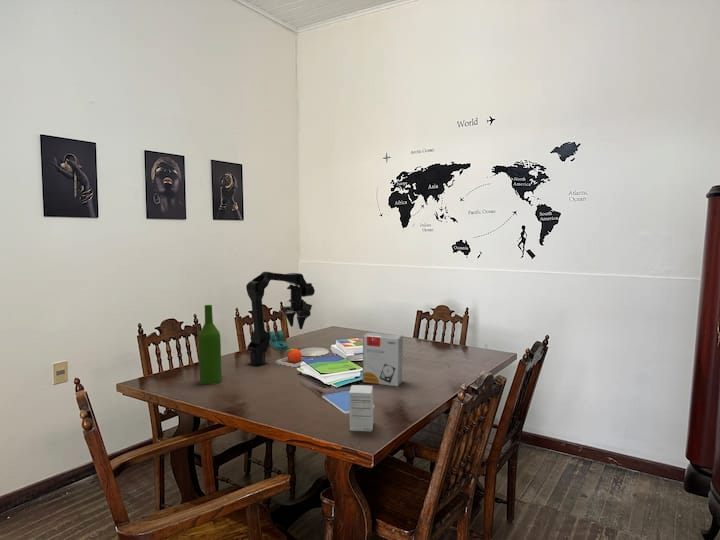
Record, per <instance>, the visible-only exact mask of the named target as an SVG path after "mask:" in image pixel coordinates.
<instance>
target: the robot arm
mask: <svg viewBox="0 0 720 540" xmlns="http://www.w3.org/2000/svg"><path fill="white" fill-rule="evenodd" d="M271 281H279V282H285V283H287V284H289V286H287V288H286V289H287V290H290V299H288V302H290V306H289V305H287V306H283V307H282V313H283V314H284V316H285V317H286V319H287V321H288V323H289V326H290V327H294V320H295V315H296V321H297V324H298V327H299V330H303V327H304V325H305V321H306V319H307V318H309V317H311V314H312V313H311V311H312V307H313V304H310V303H307V301H305V300H304V299H303V298H304V297H312V296H313V295H314V294H315V291H316V290H315V287H314V286H313V283H312V282H307V281H306V279H305V278H304V275H303V274H302V273H297V272H289V273H288V272H287V273H279V272H270V271H262V272H261V273H260V274H259V275H258V276H256V277H254V278H253V279H251V280H250V281H249V282H248V283H247V284H246V287H245V289H246V292H247V296H248V297H249V299H250V302H251V310H252V312H251V313H252V320H253V322H252V323H253V332H252V333H251V341H250V342H249V343H248V344H247V346H246V348H247V351H248V352H249V357H250V362H248V365H250V366H255V367H259V366H262V365H266V364H268V362H266V352H267V351H268V347H269V346H270V345H269V340H270V333H269V332H270V331H268V330H266V329H265V321H264V320H265V319H264V307H263V298H264V295H265V289H266V288H267V287H268V286H269V284H270V282H271Z"/></svg>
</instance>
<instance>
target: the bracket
mask: <svg viewBox="0 0 720 540" xmlns="http://www.w3.org/2000/svg"><path fill="white" fill-rule="evenodd" d="M268 332H269V333H270V340H269V345H268V346H271V347H272V348H273V349H274V348H275V350H276V351H278V350H283V351H288V350H289V344H288V343H286V342H285V341H284V340H285V339H284V332H283V330H277V331H276V332H275V331H274V330H272V331H268ZM287 349H288V350H287Z"/></svg>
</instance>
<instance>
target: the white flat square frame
mask: <svg viewBox="0 0 720 540" xmlns="http://www.w3.org/2000/svg"><path fill="white" fill-rule="evenodd" d="M302 358H303V357H302ZM302 358H301V359H302ZM286 360H287V361H289V360H288V358H287V356H286V357H283V358H280V359H277V360H275V364H276V363H277V364H276V365H280V364H281V366H284V365H286V366H285V367H289V366H291V367H290V368H293V367H296V368H298V366H299V367H301V366H300V363H301V362H302V361H299V362H298V363H291V362H287V361H286ZM283 361H284V362H283Z"/></svg>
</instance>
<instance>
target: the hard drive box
mask: <svg viewBox="0 0 720 540" xmlns="http://www.w3.org/2000/svg"><path fill="white" fill-rule="evenodd" d="M403 337H404V336H403V335H402V334H390V333H381V332H367V333H365V334H363V336H362V383H367V384H371V385H372V384H376V385H383V386H384V385H386V386H391V387H399V385H400V384H402V382H403V354H404V353H403V352H404V351H403V349H404V348H403V345H404V344H403V343H404V342H403V339H404V338H403Z"/></svg>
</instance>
